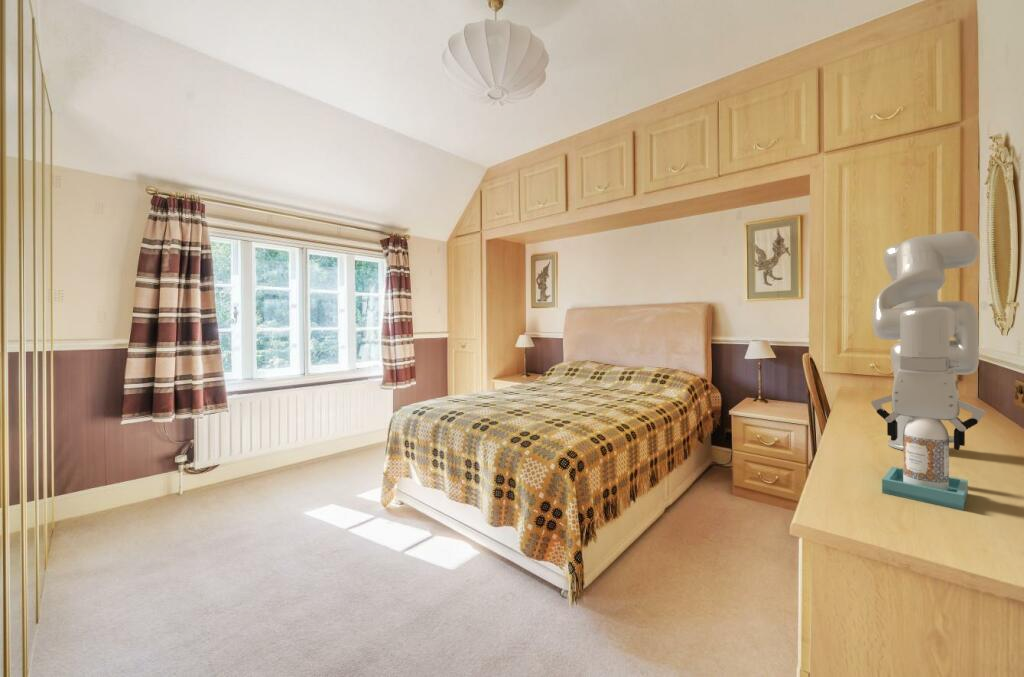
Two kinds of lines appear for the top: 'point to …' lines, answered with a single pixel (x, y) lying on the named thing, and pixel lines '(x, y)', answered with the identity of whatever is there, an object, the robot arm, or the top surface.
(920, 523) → the top surface
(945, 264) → the robot arm
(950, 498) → the holder tray
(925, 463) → the bath foam
